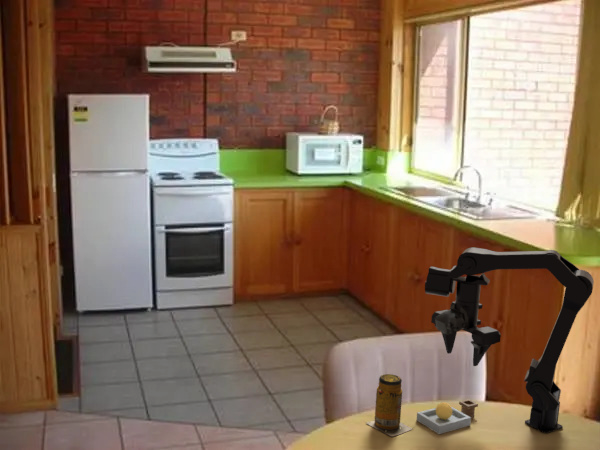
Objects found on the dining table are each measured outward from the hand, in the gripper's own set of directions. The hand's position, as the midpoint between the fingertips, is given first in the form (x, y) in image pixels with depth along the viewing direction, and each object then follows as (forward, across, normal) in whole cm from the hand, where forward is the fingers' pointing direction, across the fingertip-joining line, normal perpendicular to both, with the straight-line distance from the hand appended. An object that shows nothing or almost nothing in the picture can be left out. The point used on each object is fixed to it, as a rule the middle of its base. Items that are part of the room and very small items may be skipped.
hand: (461, 359), depth 185 cm
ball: (+10, +4, -9) cm, 14 cm away
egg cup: (+13, +4, 0) cm, 14 cm away
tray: (+13, +4, -9) cm, 16 cm away
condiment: (+13, 0, -22) cm, 26 cm away
